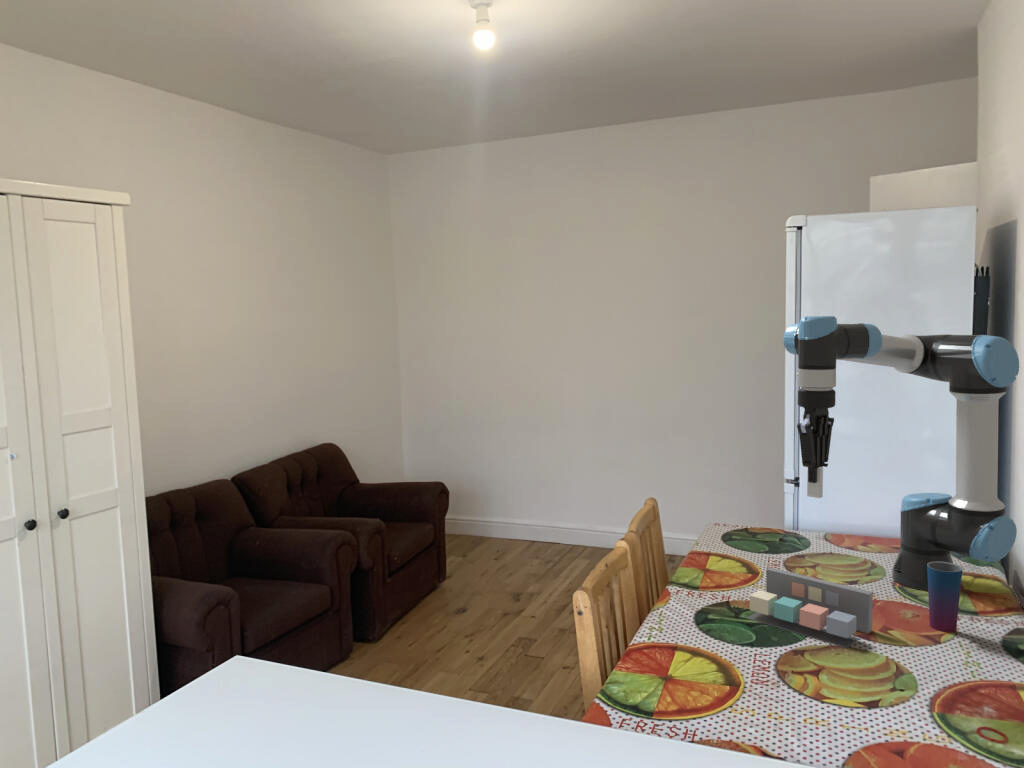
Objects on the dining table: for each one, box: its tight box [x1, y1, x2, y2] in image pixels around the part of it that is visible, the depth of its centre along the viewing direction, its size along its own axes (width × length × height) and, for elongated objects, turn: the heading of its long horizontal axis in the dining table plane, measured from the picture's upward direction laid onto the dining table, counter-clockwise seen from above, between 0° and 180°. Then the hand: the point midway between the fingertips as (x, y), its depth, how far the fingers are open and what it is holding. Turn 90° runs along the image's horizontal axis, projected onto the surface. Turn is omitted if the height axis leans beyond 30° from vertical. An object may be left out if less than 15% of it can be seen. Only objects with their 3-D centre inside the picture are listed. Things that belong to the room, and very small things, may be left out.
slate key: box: [825, 611, 857, 638], centre depth 164 cm, size 4×4×4 cm
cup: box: [927, 561, 963, 634], centre depth 168 cm, size 7×7×15 cm
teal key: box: [773, 597, 802, 622], centre depth 172 cm, size 4×4×4 cm
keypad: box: [747, 567, 874, 649], centre depth 171 cm, size 16×24×10 cm, turn 44°
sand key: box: [749, 589, 777, 615], centre depth 177 cm, size 4×4×4 cm
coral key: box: [799, 604, 829, 630], centre depth 168 cm, size 4×4×4 cm
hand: (814, 496), depth 165 cm, fingers closed
